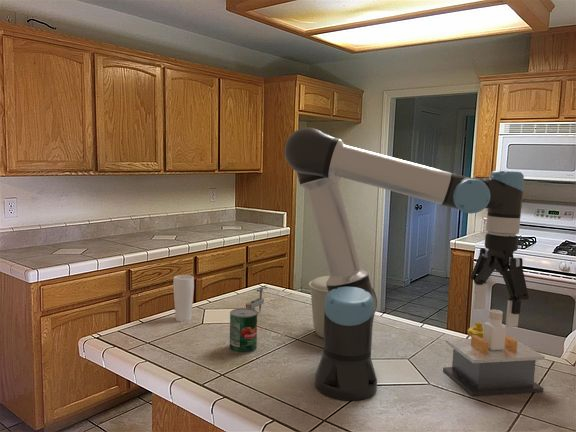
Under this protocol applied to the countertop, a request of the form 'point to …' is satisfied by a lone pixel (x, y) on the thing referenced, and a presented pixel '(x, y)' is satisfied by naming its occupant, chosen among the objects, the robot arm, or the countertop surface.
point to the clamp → (256, 302)
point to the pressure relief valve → (476, 330)
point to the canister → (318, 302)
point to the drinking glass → (183, 297)
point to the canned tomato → (243, 330)
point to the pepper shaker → (495, 331)
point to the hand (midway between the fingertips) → (494, 317)
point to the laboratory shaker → (493, 367)
